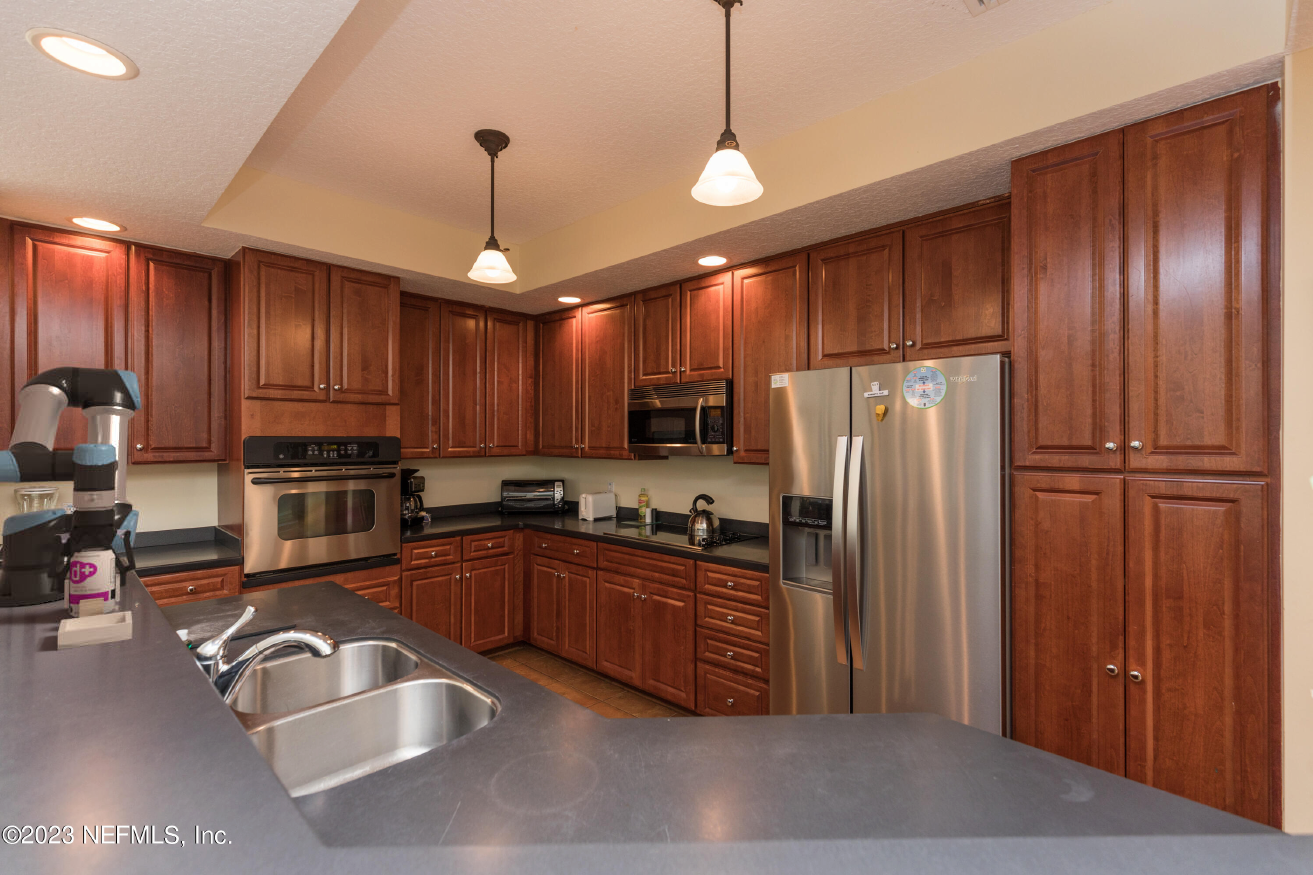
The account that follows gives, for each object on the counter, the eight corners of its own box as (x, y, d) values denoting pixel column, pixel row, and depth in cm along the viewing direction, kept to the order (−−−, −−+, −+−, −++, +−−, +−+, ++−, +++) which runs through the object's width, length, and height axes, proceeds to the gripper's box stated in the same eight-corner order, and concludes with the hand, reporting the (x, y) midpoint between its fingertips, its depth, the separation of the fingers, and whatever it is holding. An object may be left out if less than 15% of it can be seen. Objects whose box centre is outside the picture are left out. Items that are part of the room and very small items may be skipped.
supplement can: (93, 618, 144) (94, 553, 144) (58, 617, 144) (59, 552, 144) (124, 608, 152) (125, 547, 152) (91, 607, 152) (92, 546, 152)
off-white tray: (61, 636, 134) (61, 619, 134) (130, 626, 142) (130, 610, 142) (57, 650, 125) (57, 632, 125) (131, 638, 133) (132, 622, 133)
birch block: (79, 626, 141) (80, 600, 141) (103, 623, 144) (103, 597, 144) (78, 630, 138) (79, 603, 138) (103, 627, 141) (103, 601, 141)
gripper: (30, 513, 138) (28, 614, 138) (151, 507, 152) (150, 599, 152) (33, 509, 144) (31, 607, 144) (150, 504, 157) (148, 593, 158)
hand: (92, 603), depth 148 cm, fingers closed on supplement can, 8 cm apart
